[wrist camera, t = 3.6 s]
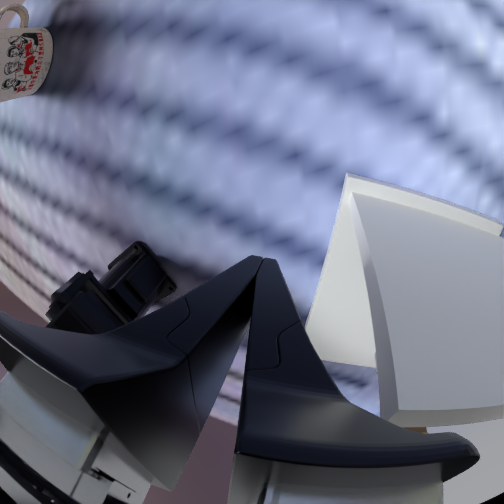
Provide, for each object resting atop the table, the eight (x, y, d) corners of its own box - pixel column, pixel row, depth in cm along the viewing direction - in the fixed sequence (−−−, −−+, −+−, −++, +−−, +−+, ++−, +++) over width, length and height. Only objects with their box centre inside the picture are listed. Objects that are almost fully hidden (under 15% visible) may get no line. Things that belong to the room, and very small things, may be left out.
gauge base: (297, 347, 29) (267, 501, 15) (346, 172, 19) (401, 386, 5) (435, 365, 27) (453, 493, 12) (516, 228, 17) (615, 364, 2)
